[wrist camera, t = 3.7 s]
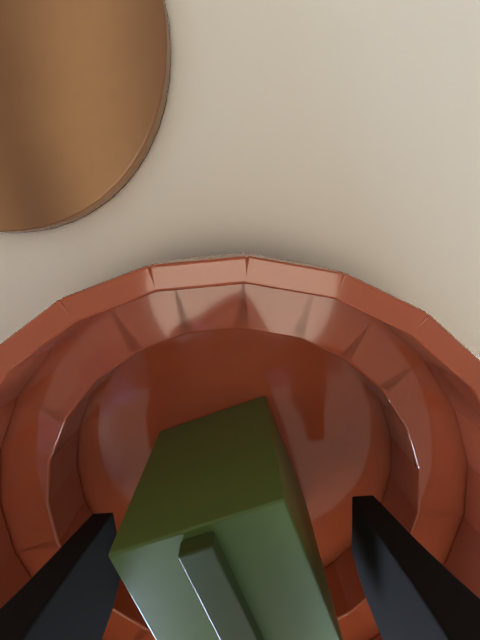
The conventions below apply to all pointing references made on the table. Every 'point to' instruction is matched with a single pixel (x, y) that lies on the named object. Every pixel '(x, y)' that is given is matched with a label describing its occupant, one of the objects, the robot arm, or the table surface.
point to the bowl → (233, 389)
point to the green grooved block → (224, 536)
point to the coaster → (76, 103)
